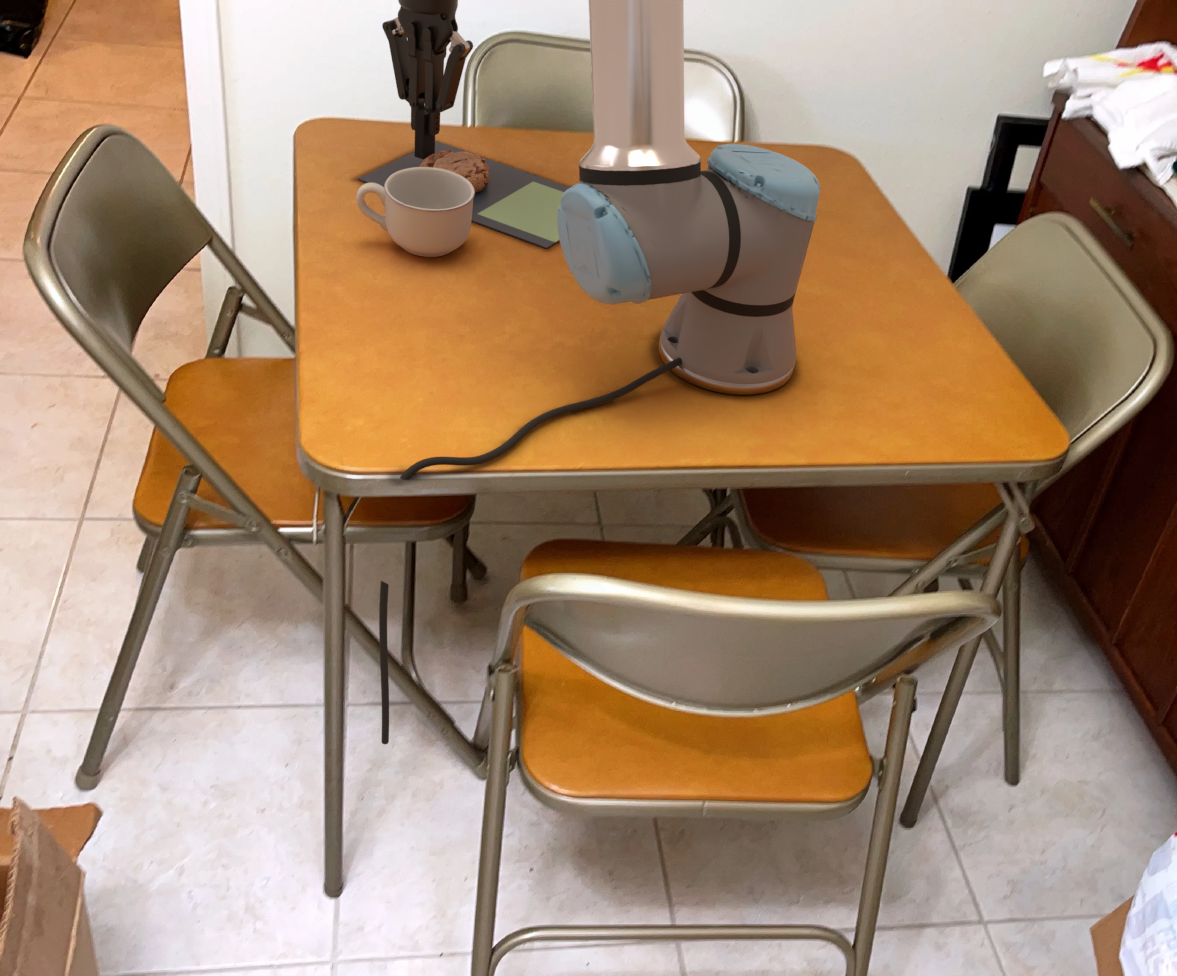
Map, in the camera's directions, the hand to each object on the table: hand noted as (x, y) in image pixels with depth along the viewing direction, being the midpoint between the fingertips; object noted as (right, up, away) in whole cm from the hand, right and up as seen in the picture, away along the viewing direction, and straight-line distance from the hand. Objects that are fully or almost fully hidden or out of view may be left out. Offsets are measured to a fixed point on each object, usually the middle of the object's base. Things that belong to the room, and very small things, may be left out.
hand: (424, 155), depth 155 cm
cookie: (+5, -4, 0) cm, 6 cm away
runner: (+9, -6, -2) cm, 11 cm away
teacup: (+1, -16, -16) cm, 23 cm away
